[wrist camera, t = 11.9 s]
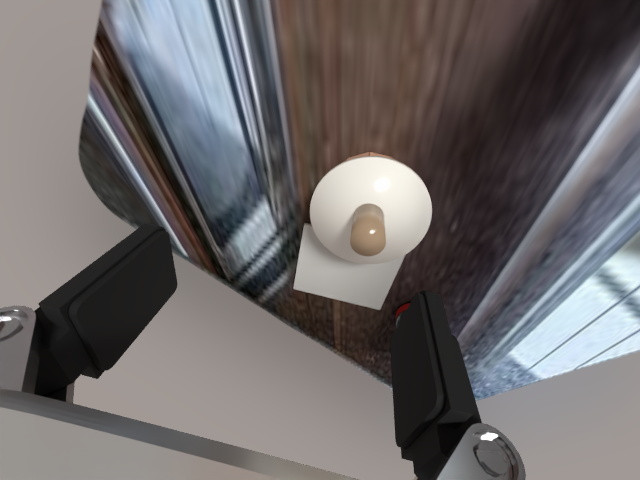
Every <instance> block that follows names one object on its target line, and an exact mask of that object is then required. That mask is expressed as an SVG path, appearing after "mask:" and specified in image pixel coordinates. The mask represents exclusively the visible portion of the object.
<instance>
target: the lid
mask: <svg viewBox="0 0 640 480" xmlns="http://www.w3.org/2000/svg"><path fill="white" fill-rule="evenodd" d="M431 218H432V203H431V199H430V195H429V193H428V190H427V188H426V186H425V184H424V182H423V181H422V179H421V178H420V177H419V176H418V175H417V173H416V172H414V171H413V170H412V169H411V168H410V167H408V166H406V165H405V164H403V163H401V162H399V161H397V160H394V159H391V158H388V157H382V156H361V157H356V158H352V159H349V160H347V161H344V162H342V163H340V164H338V165H337V166H335V167H334V168H332V169H331V170H330V171H329V172H328V173H327V174H326V175H324V177H323V178H322V179H321V180H320V182H319V184H318V185H317V187H316V189H315V191H314V194H313V196H312V200H311V204H310V219H311V224H312V227H313V230H314V232H315V234H316V236H317V237H318V239H319V240H320V242H321V243H322V244H323V245H324V246H325V247H326V248H327V249H328V250H329V251H331V252H332V253H334V254H335V255H337V256H339V257H340V258H343V259H345V260H348V261H351V262H355V263H360V264H380V263H385V262H390V261H393V260H395V259H398V258H400V257H402V256H404V255H405V254H407V253H409V252H410V251H411V250H413V249H414V248H415V247H416V246H417V245H418V244H419V243H420V242H421V240H422V239H423V238H424V236H425V234H426V233H427V231H428V228H429V226H430V222H431Z"/></svg>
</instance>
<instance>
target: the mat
mask: <svg viewBox="0 0 640 480" xmlns="http://www.w3.org/2000/svg"><path fill="white" fill-rule="evenodd" d="M405 255H406V254H405ZM405 255H404V256H402V257H400V258H398V259H395V260H393V261H390V262H385V263H380V264H360V263H355V262H351V261H348V260H345V259H343V258H340V257H339V256H337V255H335V254H334V253H332V252H331V251H329V250H328V249H327V248H326V247H325V246H324V245H323V244H322V243H321V242H320V240H319V239H318V237H317V236H316V234H315V232H314V230H313V227H312V224H308V223H305V224H304V228H303V234H302V240H301V246H300V252H299V258H298V264H297V270H296V275H295V281H294V287H293V289H296V290H300V291H304V292H308V293H312V294H316V295H320V296H324V297H328V298H332V299H336V300H340V301H345V302H349V303H353V304H357V305H361V306H365V307H369V308H373V309H377V310H380V309H381V307H382V305H383V303H384V300H385V298H386V296H387V294H388V292H389V289H390V287H391V285H392V283H393V281H394V279H395V276H396V274H397V272H398V270H399V268H400V265H401V263H402V261H403V259H404V257H405Z"/></svg>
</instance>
